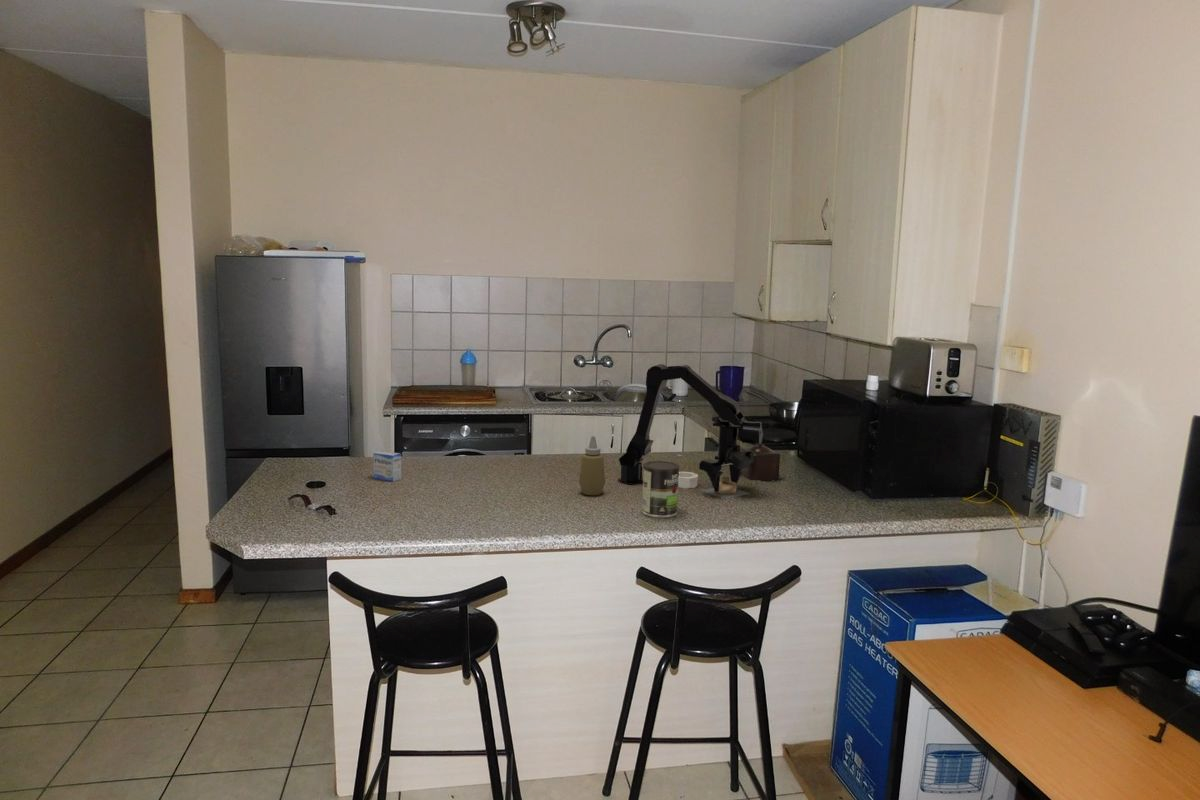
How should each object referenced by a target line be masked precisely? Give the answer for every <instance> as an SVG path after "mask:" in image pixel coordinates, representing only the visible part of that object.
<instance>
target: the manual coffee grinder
mask: <svg viewBox="0 0 1200 800" xmlns="http://www.w3.org/2000/svg"><path fill="white" fill-rule="evenodd" d="M738 431H739V428H738ZM762 431H763V429H762ZM763 432H764V431H763ZM737 441H739V442H742V441H741V440H740V439H739V438H738V433H737ZM740 451H742V452H745V453H746V452H747V451H752V452H753V453H754V460H753V461H754V462H753V465H751V466H749V468H747V469H745V470H744V471H743V472H742V473H741V475H740V476H743V477H744V478H746V479H747V480H749V481H760V482H763V481H766V482H773V481H772V480H778V481H779V480H780V479H779V477H780V463H781V462H780V461H781V460H780V459H781V455H780V453H779V452H777V451H775V450H773V449H771V448H770V447H768V446H766V445H764V444H763V441H762V442H761V444H754V445H751V446H748V447H740Z"/></svg>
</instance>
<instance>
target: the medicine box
mask: <svg viewBox="0 0 1200 800" xmlns="http://www.w3.org/2000/svg"><path fill="white" fill-rule="evenodd" d="M372 466H373V479H374V480H377V481H379V480H380V481H387V482H396V481H399V480H401V479H402V453H401V452H393V451H387V450H386V451H385V450H384V451H383V450H379V451H375V452H373V465H372Z"/></svg>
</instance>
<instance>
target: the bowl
mask: <svg viewBox="0 0 1200 800" xmlns="http://www.w3.org/2000/svg"><path fill="white" fill-rule="evenodd" d="M698 477H699V475H698V473H695V472H691V471H679V479H678V489H679V488H680V489H695V488H697V487H698V481H699V480H698V479H699V478H698Z"/></svg>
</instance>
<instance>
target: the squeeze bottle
mask: <svg viewBox="0 0 1200 800" xmlns="http://www.w3.org/2000/svg"><path fill="white" fill-rule="evenodd" d="M584 449H585V451H584V452H585V453H584V454H583V455H582V456H581V463H580V471H579V472H580V473H579V480H578V482H579V486H580V490H581V492H582V494H584V495H586V496H598V495H601V494H602V492H603V489H604V486H605V484H606V475H605V465H604V464H605V463H604V456H603V455H602V454H601V447H598V446H597V440H596V436H593V435H591V437H590V441H589V445H588V446H586V447H585V448H584Z"/></svg>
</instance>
